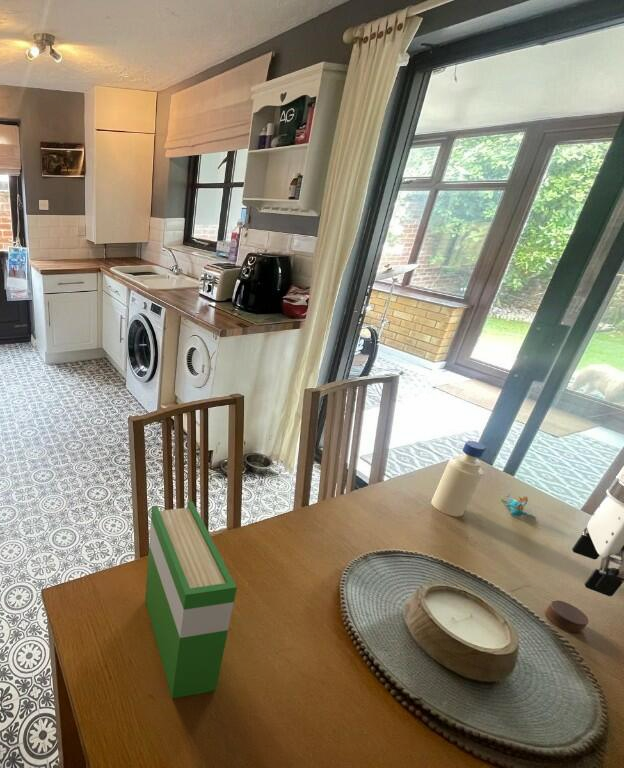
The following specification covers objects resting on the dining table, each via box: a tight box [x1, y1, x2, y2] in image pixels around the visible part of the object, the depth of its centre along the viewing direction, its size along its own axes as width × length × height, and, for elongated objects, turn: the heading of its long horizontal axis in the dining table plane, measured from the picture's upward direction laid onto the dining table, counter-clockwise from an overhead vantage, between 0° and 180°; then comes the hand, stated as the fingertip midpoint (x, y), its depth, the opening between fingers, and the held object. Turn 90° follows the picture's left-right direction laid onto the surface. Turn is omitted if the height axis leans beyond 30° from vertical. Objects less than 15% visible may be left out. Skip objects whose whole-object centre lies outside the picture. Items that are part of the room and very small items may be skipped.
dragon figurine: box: [505, 494, 536, 519], centre depth 107 cm, size 6×7×8 cm
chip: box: [544, 599, 589, 635], centre depth 78 cm, size 5×5×3 cm
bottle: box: [431, 440, 487, 517], centre depth 103 cm, size 7×7×19 cm
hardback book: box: [144, 501, 238, 700], centre depth 69 cm, size 18×7×24 cm, turn 10°
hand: (590, 572), depth 73 cm, fingers open, 9 cm apart
